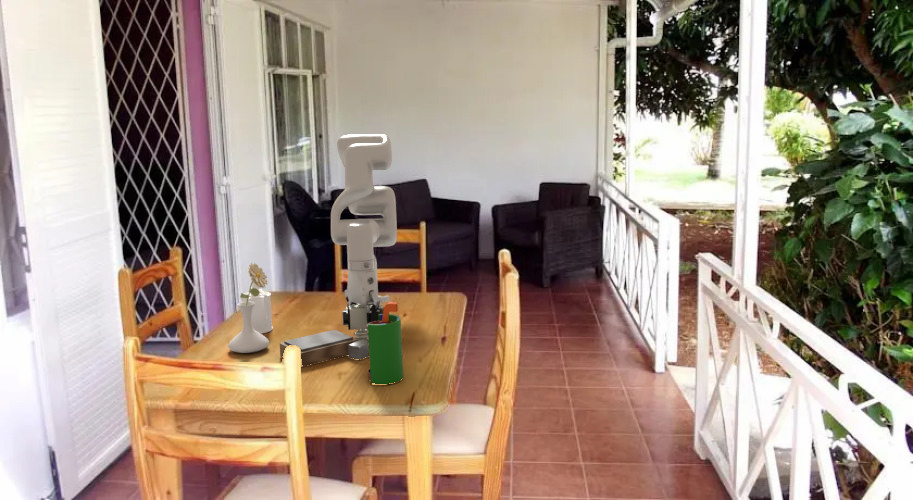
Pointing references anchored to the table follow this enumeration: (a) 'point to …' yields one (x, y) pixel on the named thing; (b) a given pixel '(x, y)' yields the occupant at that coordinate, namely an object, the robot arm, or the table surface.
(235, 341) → the flower in vase
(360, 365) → the table surface
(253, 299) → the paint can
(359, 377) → the table surface
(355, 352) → the grey rectangular block
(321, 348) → the stand
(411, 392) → the table surface
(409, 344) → the table surface
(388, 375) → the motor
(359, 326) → the pneumatic valve
